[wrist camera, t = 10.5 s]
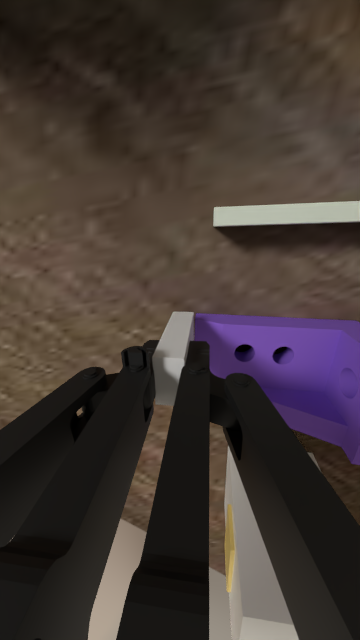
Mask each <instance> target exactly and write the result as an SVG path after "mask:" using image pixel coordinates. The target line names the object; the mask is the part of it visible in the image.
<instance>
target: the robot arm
mask: <svg viewBox="0 0 360 640" xmlns="http://www.w3.org/2000/svg"><path fill="white" fill-rule="evenodd" d="M121 355H122V363H123V368H122V370H121V371H120V373H115V374H108V375H106V373H105V370H104V369H103V368H101V367H90V368H87V369H84V370H82V371H80V372H79V373H77V374H76V375H75V376H73V377H72V378H71V379H69V380H68V381H67V382H65V383H64V384H62V385H61V386H60V387H58V388H57V389H56V390H54V391H53V392H52V393H50V394H49V395H47V396H46V397H45V398H43V399H42V400H41V401H39V402H38V403H37V404H35V405H34V406H32V407H31V408H30V409H28V410H27V411H26V412H24V413H23V414H22V415H20V416H19V417H17V418H16V419H15V420H13V421H12V422H11V423H9V424H8V425H7V426H5V427H4V428H2V429H1V430H0V640H88V631H89V621H90V616H91V612H92V608H93V604H94V601H95V598H96V595H97V591H98V588H99V585H100V582H101V579H102V575H103V572H104V569H105V566H106V563H107V559H108V556H109V553H110V550H111V546H112V543H113V540H114V537H115V534H116V530H117V527H118V524H119V521H120V518H121V514H122V511H123V508H124V505H125V502H126V498H127V495H128V492H129V489H130V486H131V482H132V479H133V476H134V473H135V469H136V466H137V463H138V460H139V457H140V453H141V450H142V447H143V444H144V441H145V437H146V434H147V431H148V428H149V424H150V421H151V418H152V415H153V410H154V408H153V401H154V398H155V400H156V404H158V405H173V406H174V407H173V412H172V417H171V421H170V426H169V431H168V435H167V440H166V445H165V449H164V454H163V459H162V464H161V468H160V473H159V478H158V482H157V487H156V492H155V497H154V501H153V506H152V511H151V515H150V520H149V525H148V530H147V534H146V539H145V544H144V549H143V553H142V557H141V561H140V564H139V566H138V568H137V569H136V570H135V572H134V574H133V576H132V579H131V582H130V585H129V589H128V593H127V596H126V600H125V604H124V608H123V613H122V617H121V622H120V626H119V630H118V634H117V638H116V640H209V428H210V422H212V423H215V424H218V425H221V426H223V431H224V434H225V437H226V440H227V442H228V445H229V448H230V451H231V453H232V456H233V459H234V462H235V464H236V467H237V470H238V473H239V476H240V478H241V481H242V484H243V487H244V489H245V492H246V495H247V498H248V500H249V503H250V506H251V509H252V511H253V514H254V517H255V520H256V522H257V525H258V528H259V531H260V533H261V536H262V539H263V542H264V544H265V547H266V550H267V553H268V555H269V558H270V561H271V564H272V566H273V569H274V572H275V575H276V577H277V580H278V583H279V586H280V588H281V591H282V594H283V597H284V600H285V602H286V605H287V608H288V611H289V613H290V616H291V619H292V622H293V624H294V627H295V630H296V633H297V635H298V638H299V640H360V526H359V525H358V523H357V522H356V520H355V519H354V518H353V516H352V515H351V513H350V512H349V511H348V509H347V508H346V506H345V505H344V503H343V502H342V501H341V499H340V498H339V496H338V495H337V494H336V492H335V491H334V489H333V488H332V487H331V485H330V484H329V482H328V481H327V480H326V478H325V477H324V475H323V474H322V473H321V471H320V470H319V468H318V467H317V466H316V464H315V463H314V461H313V460H312V459H311V457H310V456H309V454H308V453H307V452H306V450H305V449H304V447H303V446H302V444H301V443H300V442H299V440H298V439H297V437H296V436H295V435H294V433H293V432H292V430H291V429H290V428H289V426H288V425H287V423H286V422H285V421H284V419H283V418H282V416H281V415H280V414H279V412H278V411H277V409H276V408H275V407H274V405H273V404H272V402H271V401H270V400H269V398H268V397H267V395H266V394H265V393H264V391H263V390H262V388H261V387H260V385H259V384H258V383H257V381H256V380H255V379H254V378H253V377H252V376H250V375H248V374H244V373H232V374H229V375H228V376H227V377H226V379H223V378H220V377H217V376H215V375H214V374H213V373H212V372H211V371H210V345H209V344H208V343H207V342H206V341H194V312H173V313H172V315H171V318H170V320H169V322H168V324H167V326H166V328H165V331H164V333H163V335H162V337H161V339H160V340H149V341H147V342H146V343H144V345H143V346H133V347H129V348H126V349H124V350H123V351H122V352H121ZM81 407H82V411H83V413H82V414H81V415H79V416H77V413H76V412H77V411H78V410H79V409H80V408H81ZM15 534H16V535H15ZM12 538H13V539H12ZM11 539H12V540H11ZM10 540H11V541H10Z"/></svg>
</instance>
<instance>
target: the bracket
mask: <svg viewBox="0 0 360 640" xmlns="http://www.w3.org/2000/svg"><path fill="white" fill-rule="evenodd" d="M195 341H206V342H207V343H208V344H209V345H210V371H211V372H212V373H213V374H214V375H215V376H217V377H220V378H223V379H226V377H227V376H228V375H229V374H232V373H244V374H248V375H250V376H252V377H253V378H254V379H255V380H256V381H257V383H258V384H259V385H260V387H261V388H262V390H263V391H264V393H265V394H266V395H267V397H268V398H269V400H270V401H271V402H272V404H273V405H274V407H275V408H276V409H277V411H278V412H279V414H280V415H281V416H282V418H283V419H284V421H285V422H286V423H287V425H288V426H289V428H291V429H294V430H296V431H299V432H302V433H305V434H307V435H310V436H313V437H315V438H318V439H321V440H324V441H326V442H329V443H332V444H335V445H337V446H340V447H342V449H343V450H344V452H345V454H346V455H347V457H348V459H349V460H350V462H351V463H352V464H356V465H360V323H359V322H358V321H350V320H329V319H307V318H286V317H264V316H242V315H221V314H199V313H196V317H195ZM242 344H248V345H250V346H252V347H251V348H250V349H249V350H247V351H244V352H237V351H235V349H236V348H237V347H238V346H240V345H242ZM279 347H287V349H286V350H285V351H283V352H282V353H279V354H273V352H274V351H275V350H276V349H277V348H279Z"/></svg>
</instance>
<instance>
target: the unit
mask: <svg viewBox="0 0 360 640" xmlns="http://www.w3.org/2000/svg"><path fill="white" fill-rule="evenodd" d="M307 453H308V454H309V456H310V457H311V459H312V460H313V461H314V463H315V464H316V466H317V467H318V468H319V466H318V463H317V461H316V459H315V457H314V455H313V453H309V452H307ZM319 470H320V468H319ZM320 471H321V470H320ZM321 473H322V472H321ZM224 506H225V524H226V534H225V563H226V584H227V592H229V599H230V617H231V636H232V640H299V638H298V635H297V633H296V630H295V627H294V624H293V622H292V619H291V616H290V613H289V611H288V608H287V605H286V602H285V600H284V597H283V594H282V591H281V588H280V586H279V583H278V580H277V577H276V575H275V572H274V569H273V566H272V564H271V561H270V558H269V555H268V553H267V550H266V547H265V544H264V542H263V539H262V536H261V533H260V531H259V528H258V525H257V522H256V520H255V517H254V514H253V511H252V509H251V506H250V503H249V500H248V498H247V495H246V492H245V489H244V487H243V484H242V481H241V478H240V476H239V473H238V470H237V467H236V464H235V462H234V459H233V456H232V453H231V451H230V448H229V446H228V456H227V471H226V486H225V501H224Z"/></svg>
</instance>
